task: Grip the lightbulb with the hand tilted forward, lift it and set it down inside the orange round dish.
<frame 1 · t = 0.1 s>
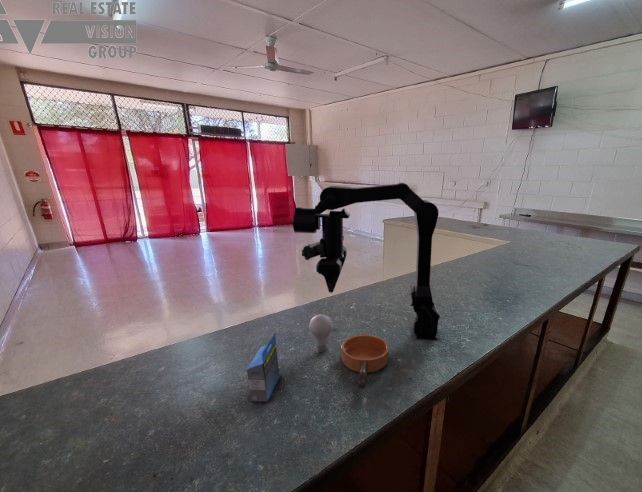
hand: (333, 286, 93), 15 cm above the counter, tool pointing down, fingers open, 9 cm apart
orange round dish: (364, 359, 84), on the counter
blue cardboard box: (266, 389, 72), on the counter
lightbulb: (321, 352, 87), on the counter
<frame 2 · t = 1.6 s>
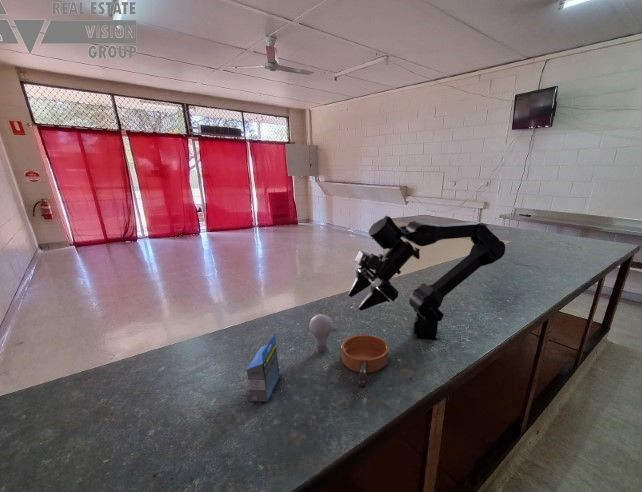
hand: (354, 302, 85), 14 cm above the counter, tool tilted 45°, fingers open, 9 cm apart
nothing on the counter moved.
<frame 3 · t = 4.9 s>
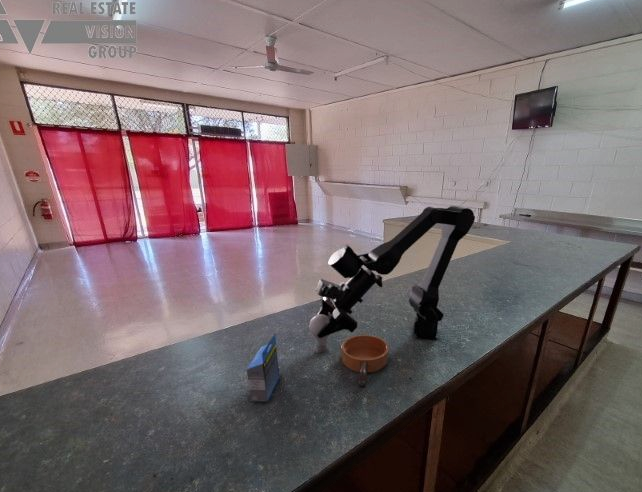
hand: (315, 331, 84), 7 cm above the counter, tool tilted 45°, fingers closed on lightbulb, 6 cm apart
lightbulb: (321, 352, 87), on the counter, touching gripper
everything else where it was.
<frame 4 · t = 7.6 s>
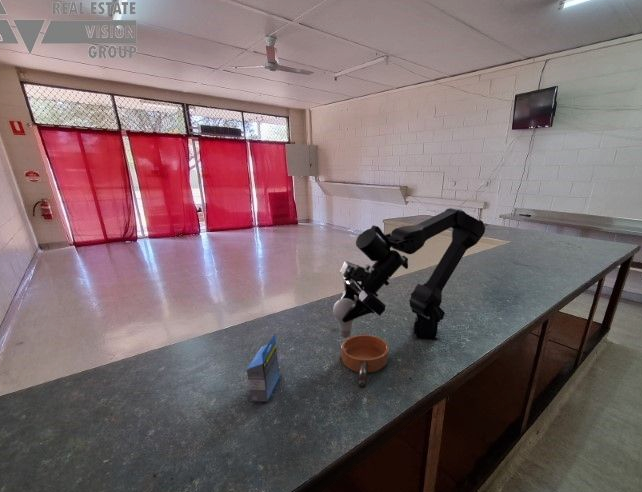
hand: (340, 315, 80), 12 cm above the counter, tool tilted 45°, fingers closed on lightbulb, 6 cm apart
lightbulb: (345, 338, 83), point 5 cm above the counter, touching gripper
everything else where it was.
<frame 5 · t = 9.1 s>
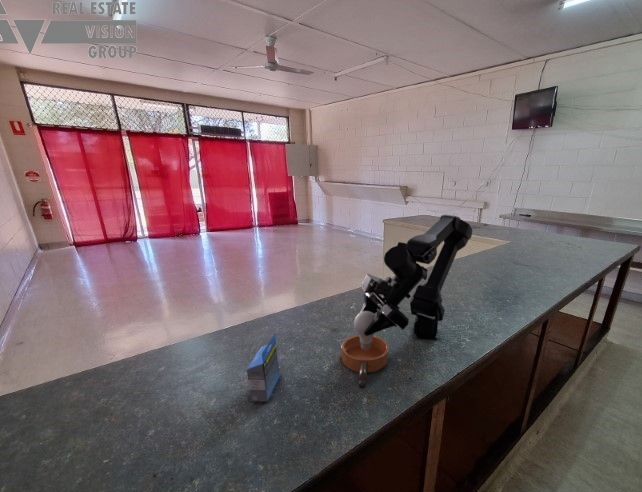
hand: (360, 328, 80), 9 cm above the counter, tool tilted 45°, fingers closed on lightbulb, 6 cm apart
lightbulb: (365, 350, 83), point 3 cm above the counter, touching gripper
everything else where it was.
when the fingers open (7 cm above the counter, at t = 10.3 s): lightbulb stays where it is, resting on orange round dish.
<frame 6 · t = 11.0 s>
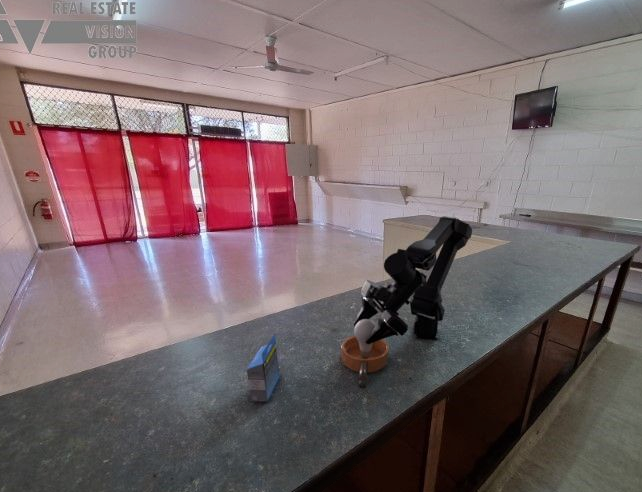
hand: (360, 334, 80), 8 cm above the counter, tool tilted 45°, fingers open, 9 cm apart
lightbulb: (365, 358, 83), resting on orange round dish
everything else where it was.
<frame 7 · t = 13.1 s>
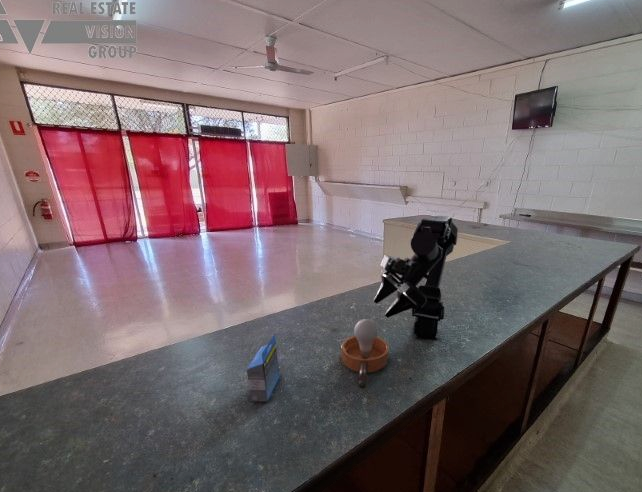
hand: (380, 309, 81), 14 cm above the counter, tool tilted 45°, fingers open, 9 cm apart
nothing on the counter moved.
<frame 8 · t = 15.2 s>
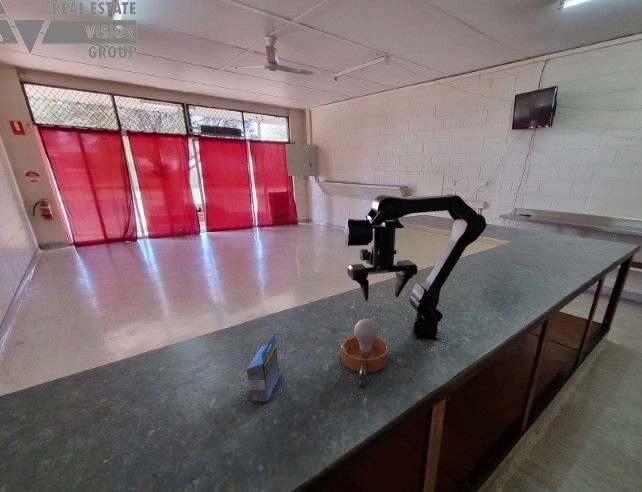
hand: (381, 298, 89), 13 cm above the counter, tool pointing down, fingers open, 9 cm apart
nothing on the counter moved.
at the end: lightbulb inside the target area in the orange round dish (0.1 cm from its centre), point 0.4 cm above the orange round dish's base; the gripper is holding nothing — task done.
